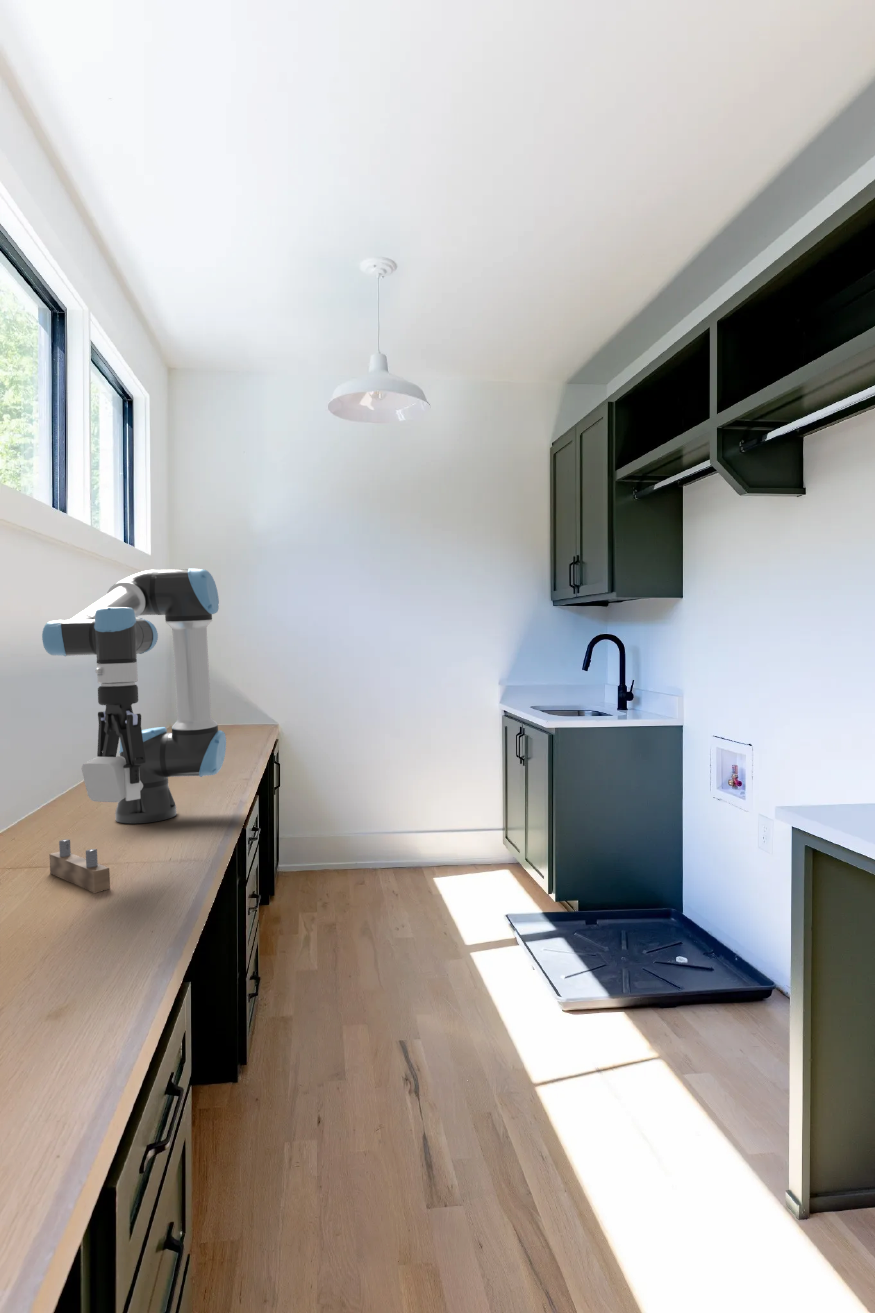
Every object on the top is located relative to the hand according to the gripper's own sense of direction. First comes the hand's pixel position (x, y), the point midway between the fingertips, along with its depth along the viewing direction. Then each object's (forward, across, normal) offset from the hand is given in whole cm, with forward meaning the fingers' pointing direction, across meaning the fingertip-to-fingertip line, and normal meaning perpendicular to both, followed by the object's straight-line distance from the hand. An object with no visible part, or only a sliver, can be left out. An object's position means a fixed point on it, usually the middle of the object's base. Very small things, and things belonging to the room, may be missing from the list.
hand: (122, 796), depth 164 cm
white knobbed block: (+1, -1, 0) cm, 1 cm away
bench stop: (+15, -2, -8) cm, 18 cm away
